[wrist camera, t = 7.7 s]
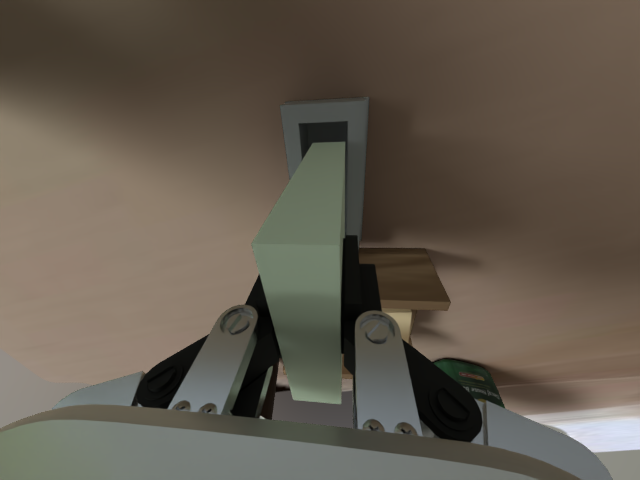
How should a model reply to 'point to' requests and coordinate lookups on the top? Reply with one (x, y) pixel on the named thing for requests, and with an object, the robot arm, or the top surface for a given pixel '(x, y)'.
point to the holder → (331, 126)
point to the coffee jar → (472, 380)
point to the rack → (404, 283)
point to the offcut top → (401, 320)
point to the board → (307, 272)
